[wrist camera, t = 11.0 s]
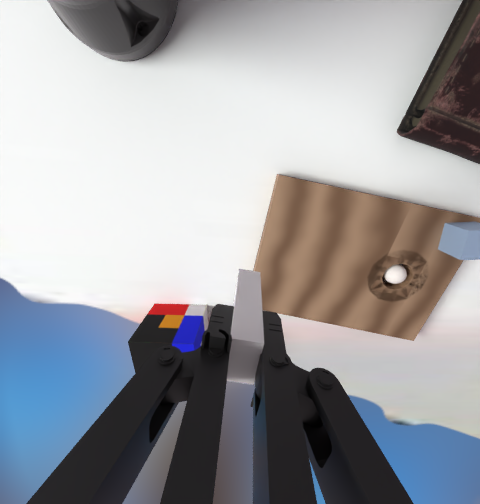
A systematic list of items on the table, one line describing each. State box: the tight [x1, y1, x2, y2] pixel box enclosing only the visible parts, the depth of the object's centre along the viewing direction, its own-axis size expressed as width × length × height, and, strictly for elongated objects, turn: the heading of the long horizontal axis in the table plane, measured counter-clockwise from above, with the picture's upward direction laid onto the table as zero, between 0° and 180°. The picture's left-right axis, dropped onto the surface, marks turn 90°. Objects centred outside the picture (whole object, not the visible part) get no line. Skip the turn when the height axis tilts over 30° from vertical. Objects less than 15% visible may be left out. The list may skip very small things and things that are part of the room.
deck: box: [253, 174, 480, 341], centre depth 37 cm, size 30×22×2 cm
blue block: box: [438, 222, 480, 260], centre depth 31 cm, size 4×4×4 cm
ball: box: [383, 264, 407, 284], centre depth 37 cm, size 3×3×3 cm
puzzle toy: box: [128, 304, 208, 373], centre depth 41 cm, size 10×10×10 cm
